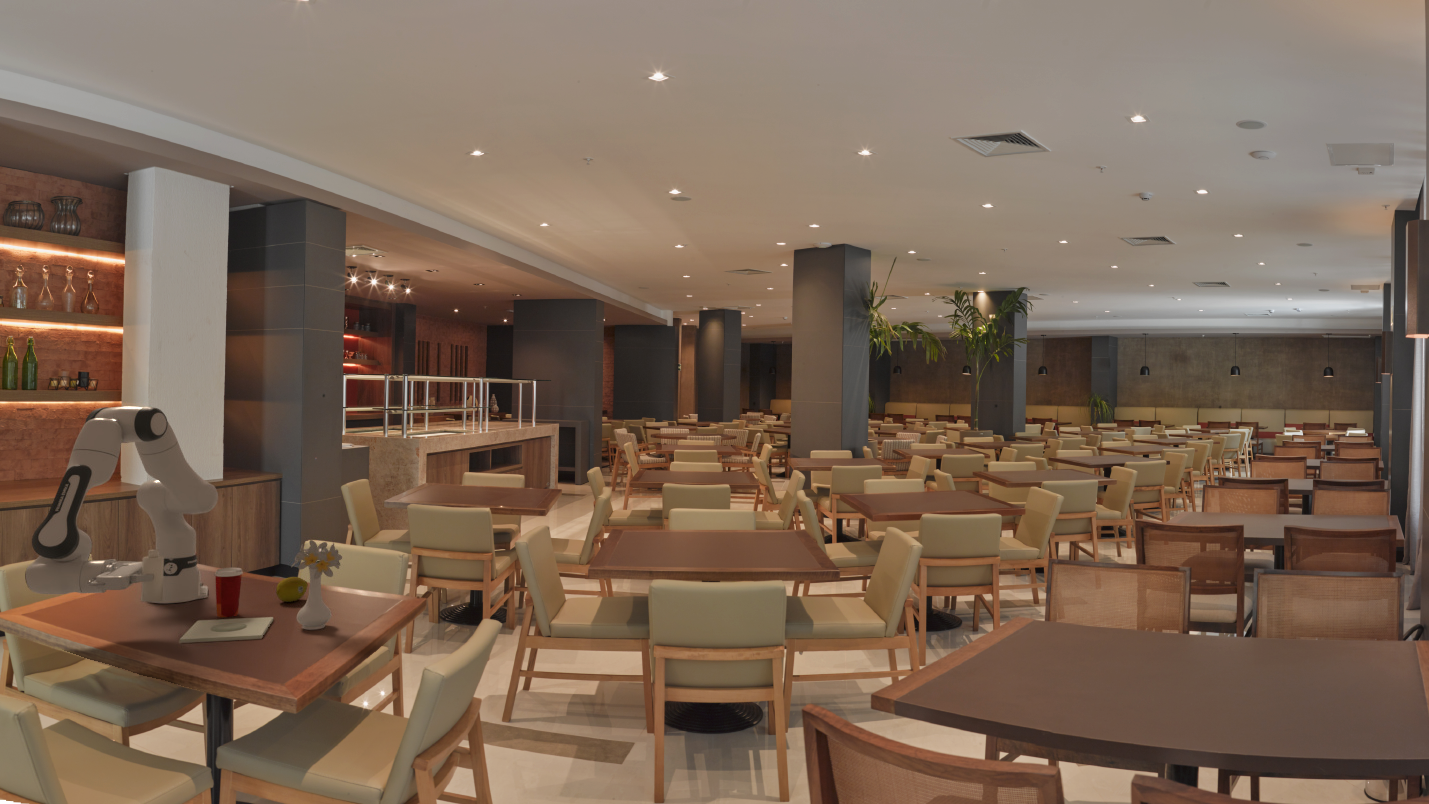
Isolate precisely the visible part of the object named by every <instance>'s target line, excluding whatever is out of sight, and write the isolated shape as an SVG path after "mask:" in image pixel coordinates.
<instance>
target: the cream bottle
mask: <svg viewBox="0 0 1429 804" xmlns="http://www.w3.org/2000/svg"><path fill="white" fill-rule="evenodd" d="M147 553H148V554H147V556H143V557H142V561H141V562H142V575H145V574H154V579H153V580H152V581H145V582H141V592H140V593H141V595H140V596H141V597H140V601H141V602H142V603H152V602H156V601H161V600H162V599H163V571H164V556H158V555H159V550H158V549H156V548H155V549H148V552H147Z"/></svg>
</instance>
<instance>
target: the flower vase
mask: <svg viewBox="0 0 1429 804" xmlns="http://www.w3.org/2000/svg"><path fill="white" fill-rule="evenodd" d="M309 545H310V546H309V548H304V544H303V543H302V544H301V546H300V548H299V552H298V553H297V554H296V556H295V558H294V562H293V563H292V564H291V566H290V567H291V568H293V566H295V565H297V564H298V563H299V562H301V561H302V562H301V563H300V564H299V565H298V570H303V569H305V568H307V567H308V571H309V586H308V587H309V588H308V597H307V599H306V602H305V604H304V605H303V606H302V607H301V608H300V609H299V611H298V612H297V615H296V621H297V622H298V623H299V624H300V625H302V629H303V630H306V631H307V630H309V631H317V630H321V629H324V628H325V627H326V624H327V623H328V622H329V621H330V620H331V618H332V611H331V609H330V608H329V607H328V606H327V605H326V604H325V602H324V600H323V597H322V588H321V587H322V583H321V582H322V575H323V574H324V575H325V576H326V577H329V578H332V577H333V576H334V573H333V572H334V571H333V570H332V569H331V568H332V567H334V568H336V569H337V570H340V567H341V562H340V561H341V560H343V555H341V554H339V550H338V549H336V547H335V543H334V542H332V544H331V546H330V548H329V549H328V548H327V547H328V542H326V541H324V542H323V541H322V542H321V543H319V545H318V544H317V543H316V542H315V540H313V539H311V540H309Z"/></svg>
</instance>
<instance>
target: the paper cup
mask: <svg viewBox="0 0 1429 804" xmlns="http://www.w3.org/2000/svg"><path fill="white" fill-rule="evenodd" d="M243 574H244V572H243V570H242V568H240V567H223V568H218V569H216V571H215V573H214V577H215V604H216V605H215V606H216V617H217V616H218V617H217V618H223V617H224V618H232V616H233V617H236V616H238V615H237V614H239V606H240V598H241V587H242V575H243Z"/></svg>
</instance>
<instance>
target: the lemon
mask: <svg viewBox="0 0 1429 804" xmlns="http://www.w3.org/2000/svg"><path fill="white" fill-rule="evenodd" d="M308 585H309V583H308V581H307V580H305V579H303V578H301V577H298V576H290V577H286V578H283V579H282V580H280V582H279V583H278V584H277V586H276V592H275V593H276V597H277V598H278V599H279V600H281V601H282V602H284V603H293V601H294V602H296V601H298V600H300V599H301V598H302V597H303V596H304V595H305V594H306V591H307V589H308V587H309V586H308Z"/></svg>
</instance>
